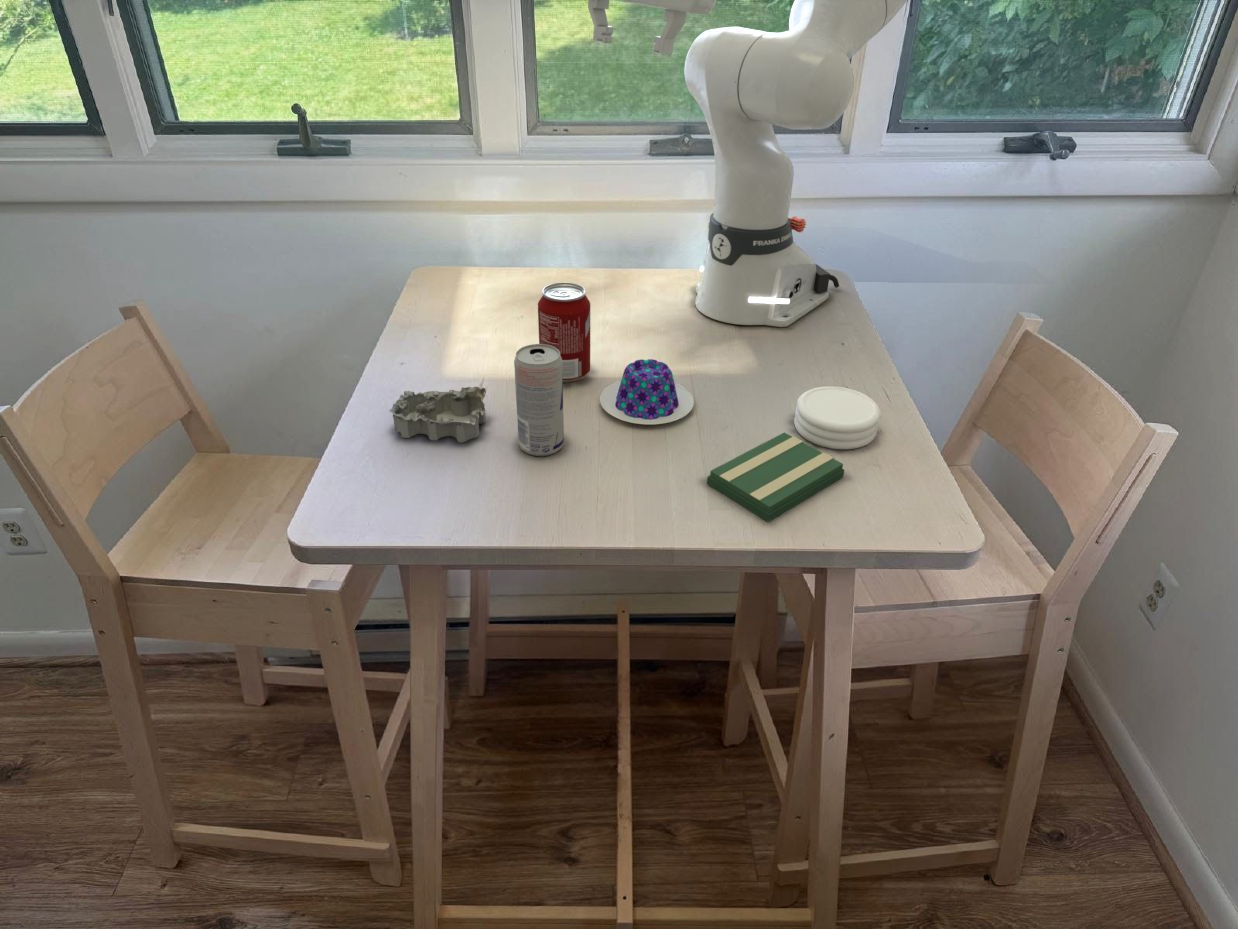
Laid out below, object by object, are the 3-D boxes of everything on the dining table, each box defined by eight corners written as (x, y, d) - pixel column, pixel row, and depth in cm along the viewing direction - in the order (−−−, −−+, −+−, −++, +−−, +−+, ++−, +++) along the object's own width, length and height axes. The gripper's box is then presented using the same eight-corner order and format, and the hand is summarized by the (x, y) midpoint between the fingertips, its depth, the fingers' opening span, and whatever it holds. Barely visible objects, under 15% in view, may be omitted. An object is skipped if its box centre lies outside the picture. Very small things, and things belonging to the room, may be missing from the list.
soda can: (583, 388, 114) (583, 303, 107) (534, 382, 115) (530, 298, 108) (595, 365, 120) (595, 283, 113) (547, 359, 121) (545, 278, 114)
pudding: (589, 387, 114) (589, 352, 111) (675, 377, 117) (677, 342, 114) (614, 435, 105) (614, 397, 102) (707, 422, 108) (710, 385, 105)
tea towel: (782, 443, 104) (784, 430, 103) (843, 477, 99) (846, 463, 98) (706, 483, 97) (707, 469, 96) (767, 522, 92) (770, 507, 90)
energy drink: (561, 431, 105) (559, 341, 99) (566, 455, 101) (565, 363, 94) (517, 434, 105) (512, 344, 98) (520, 459, 100) (515, 366, 94)
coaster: (804, 452, 103) (809, 427, 101) (785, 409, 111) (788, 385, 109) (887, 450, 103) (893, 425, 101) (861, 407, 112) (866, 383, 110)
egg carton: (492, 415, 108) (490, 386, 106) (473, 447, 102) (471, 418, 100) (410, 406, 110) (406, 377, 107) (387, 437, 103) (383, 407, 101)
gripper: (740, -83, 90) (719, 62, 97) (599, -95, 101) (588, 36, 108) (703, -90, 86) (683, 62, 93) (560, -102, 97) (552, 35, 104)
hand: (631, 48), depth 101 cm, fingers open, 8 cm apart
